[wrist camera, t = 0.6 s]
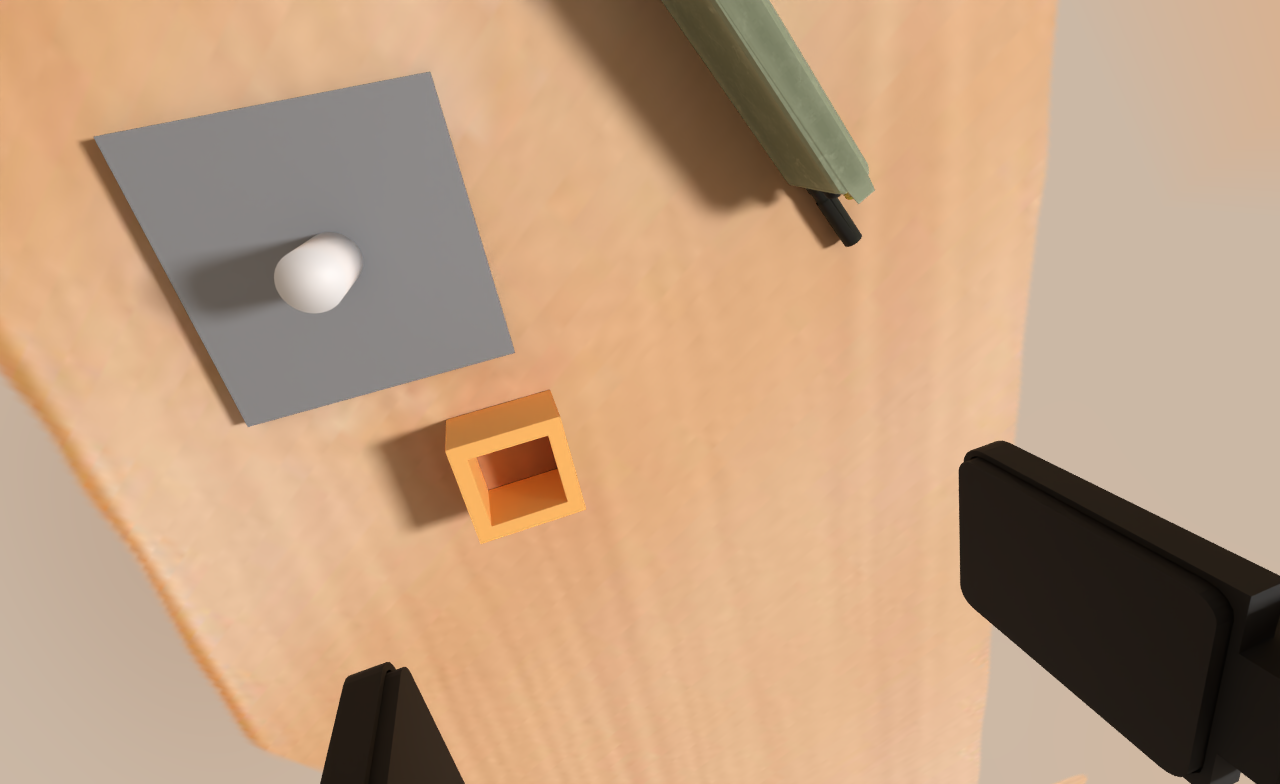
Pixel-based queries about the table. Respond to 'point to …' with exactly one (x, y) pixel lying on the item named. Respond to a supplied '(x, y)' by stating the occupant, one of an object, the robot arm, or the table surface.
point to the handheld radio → (779, 100)
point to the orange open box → (520, 499)
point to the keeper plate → (287, 198)
